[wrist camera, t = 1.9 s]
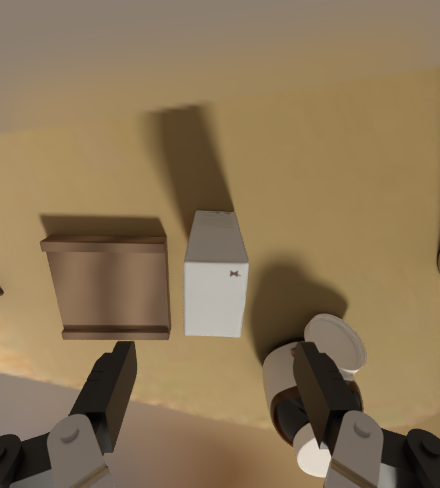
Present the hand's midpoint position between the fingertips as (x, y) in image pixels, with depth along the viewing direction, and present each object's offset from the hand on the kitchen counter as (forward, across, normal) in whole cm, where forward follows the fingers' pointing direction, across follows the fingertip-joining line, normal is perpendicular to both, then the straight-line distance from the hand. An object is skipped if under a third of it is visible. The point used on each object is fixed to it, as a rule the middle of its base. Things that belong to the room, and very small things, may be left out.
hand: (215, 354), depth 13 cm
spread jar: (+17, -12, +15) cm, 26 cm away
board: (+17, +11, +6) cm, 21 cm away
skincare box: (+17, 0, 0) cm, 17 cm away
